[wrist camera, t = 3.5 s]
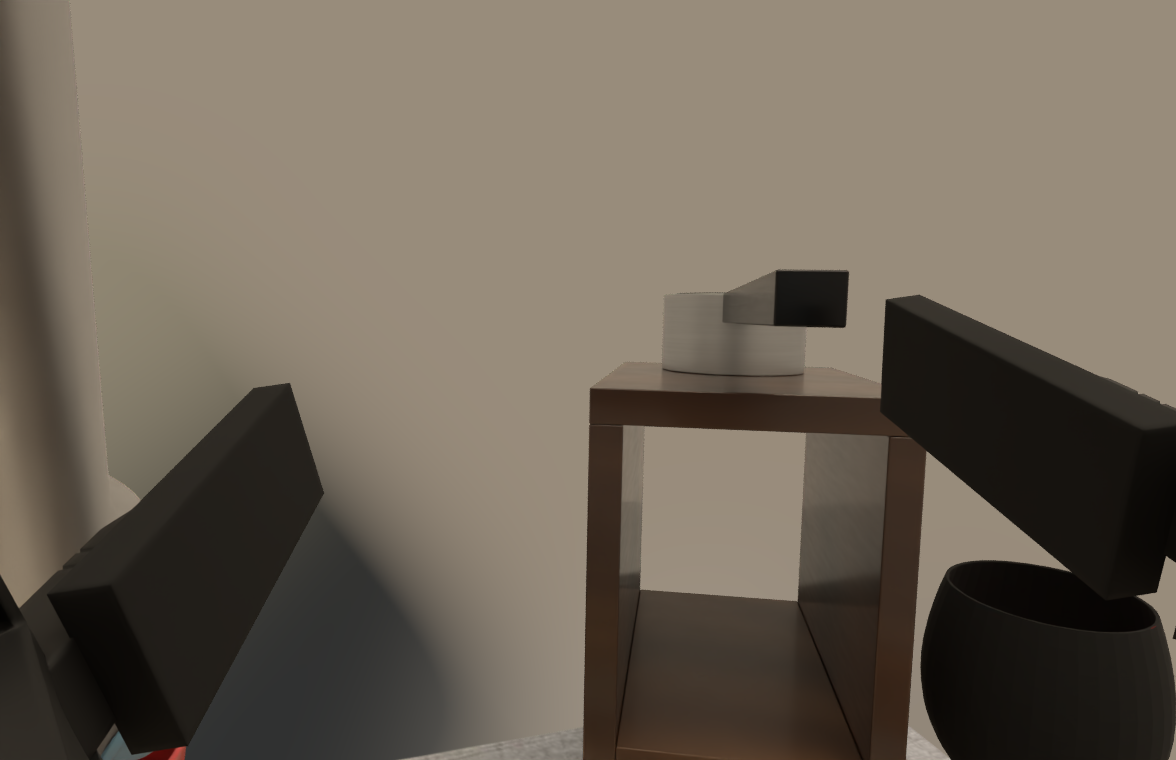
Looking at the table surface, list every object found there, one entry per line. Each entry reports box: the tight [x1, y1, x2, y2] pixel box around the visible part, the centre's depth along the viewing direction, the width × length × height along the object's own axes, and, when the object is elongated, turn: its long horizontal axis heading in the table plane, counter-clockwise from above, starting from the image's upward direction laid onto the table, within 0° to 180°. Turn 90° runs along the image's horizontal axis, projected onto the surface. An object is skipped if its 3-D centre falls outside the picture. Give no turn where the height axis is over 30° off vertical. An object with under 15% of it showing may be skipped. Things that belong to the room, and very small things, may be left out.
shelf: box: [583, 362, 926, 760], centre depth 38 cm, size 18×14×30 cm
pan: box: [662, 270, 849, 376], centre depth 32 cm, size 26×8×5 cm, turn 173°
